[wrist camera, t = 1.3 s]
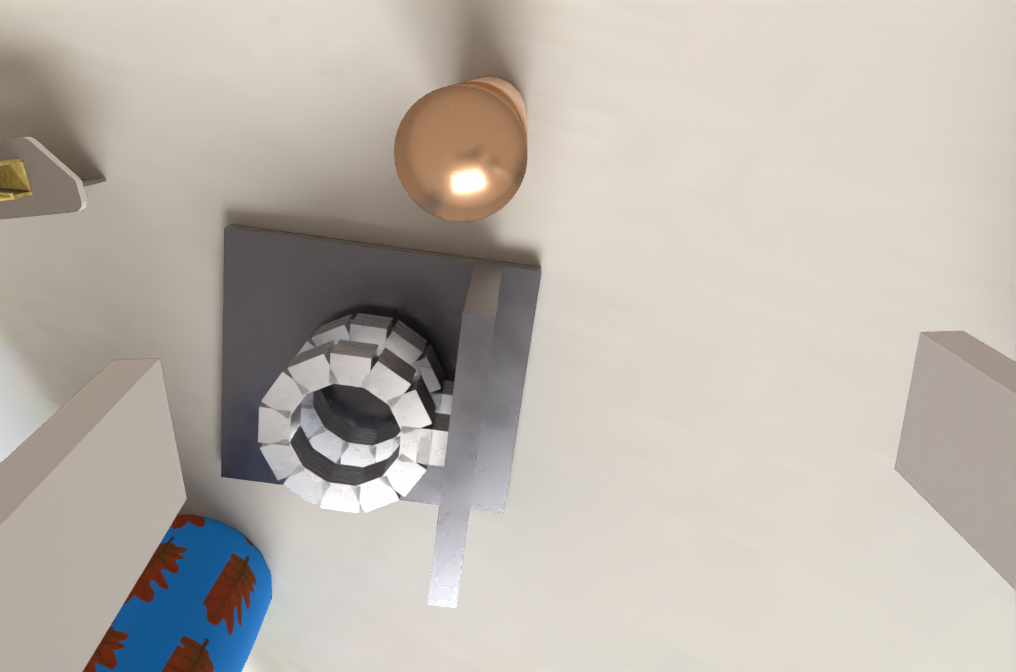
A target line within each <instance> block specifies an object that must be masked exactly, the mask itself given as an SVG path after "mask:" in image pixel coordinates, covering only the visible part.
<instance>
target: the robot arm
mask: <svg viewBox="0 0 1016 672" xmlns="http://www.w3.org/2000/svg"><path fill="white" fill-rule="evenodd" d="M895 470H896V471H897V472H898V473H899V474H900V475H901V476H902V477H903V478H904V479H905V480H906V481H907V482H908V483H909V484H910V485H911V486H912V487H913V488H914V489H915V490H916V491H917V492H918V493H919V494H920V495H921V496H922V497H923V498H924V499H925V500H926V501H927V502H928V503H929V504H930V505H931V506H932V507H933V508H934V509H935V510H936V511H937V512H938V513H939V514H940V515H941V516H942V517H943V518H944V519H945V520H946V521H947V522H948V523H949V524H950V525H951V526H952V527H953V528H954V529H955V530H956V531H957V532H958V533H959V534H960V535H961V536H962V537H963V538H964V539H965V540H966V541H967V542H968V543H969V544H970V545H971V546H972V547H973V548H974V549H975V550H976V551H977V552H978V553H979V554H980V555H981V556H982V557H983V558H984V559H985V560H986V561H987V562H988V563H989V564H990V565H991V566H992V567H993V568H994V569H995V570H996V571H997V572H998V573H999V574H1000V575H1001V576H1002V577H1003V578H1004V579H1005V580H1006V581H1007V582H1008V583H1009V584H1010V585H1011V586H1012V587H1013V588H1014V589H1015V590H1016V362H1015V361H1013V360H1012V359H1010V358H1008V357H1007V356H1005V355H1003V354H1001V353H1000V352H998V351H996V350H995V349H993V348H991V347H990V346H988V345H986V344H985V343H983V342H981V341H979V340H978V339H976V338H974V337H973V336H971V335H969V334H968V333H966V332H964V331H940V332H920V337H919V342H918V347H917V352H916V358H915V363H914V368H913V374H912V379H911V384H910V389H909V395H908V400H907V405H906V411H905V416H904V421H903V426H902V432H901V437H900V442H899V448H898V453H897V458H896V463H895ZM186 499H187V497H186V492H185V486H184V481H183V476H182V471H181V466H180V461H179V456H178V450H177V445H176V440H175V435H174V430H173V425H172V420H171V415H170V409H169V404H168V399H167V394H166V389H165V384H164V379H163V373H162V368H161V363H160V358H159V359H130V360H113V361H112V362H111V363H109V364H108V365H107V366H106V367H105V368H104V369H103V370H102V371H101V372H100V373H99V374H97V375H96V376H95V377H94V378H93V379H92V380H91V381H90V382H89V383H88V384H87V385H85V386H84V387H83V388H82V389H81V390H80V391H79V392H78V393H77V394H76V395H75V396H73V397H72V398H71V399H70V400H69V401H68V402H67V403H66V404H65V405H64V406H63V407H61V408H60V409H59V410H58V411H57V412H56V413H55V414H54V415H53V416H52V417H51V418H49V419H48V420H47V421H46V422H45V423H44V424H43V425H42V426H41V427H40V428H39V429H37V430H36V431H35V432H34V433H33V434H32V435H31V436H30V437H29V438H28V439H27V440H25V441H24V442H23V443H22V444H21V445H20V446H19V447H18V448H17V449H16V450H15V451H13V452H12V453H11V454H10V455H9V456H8V457H7V458H6V459H5V460H4V461H3V462H1V463H0V672H83V670H84V668H85V667H86V665H87V663H88V662H89V660H90V658H91V657H92V655H93V653H94V652H95V650H96V649H97V647H98V645H99V644H100V642H101V640H102V639H103V637H104V635H105V634H106V632H107V630H108V629H109V627H110V625H111V624H112V622H113V620H114V619H115V617H116V615H117V614H118V612H119V610H120V609H121V607H122V605H123V604H124V602H125V600H126V599H127V597H128V595H129V594H130V592H131V590H132V589H133V587H134V586H135V584H136V582H137V581H138V579H139V577H140V576H141V574H142V572H143V571H144V569H145V567H146V566H147V564H148V562H149V561H150V559H151V557H152V556H153V554H154V552H155V551H156V549H157V547H158V546H159V544H160V542H161V541H162V539H163V537H164V536H165V534H166V532H167V531H168V529H169V527H170V526H171V524H172V523H173V521H174V519H175V518H176V516H177V514H178V513H179V511H180V509H181V508H182V506H183V504H184V503H185V501H186Z"/></svg>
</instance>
